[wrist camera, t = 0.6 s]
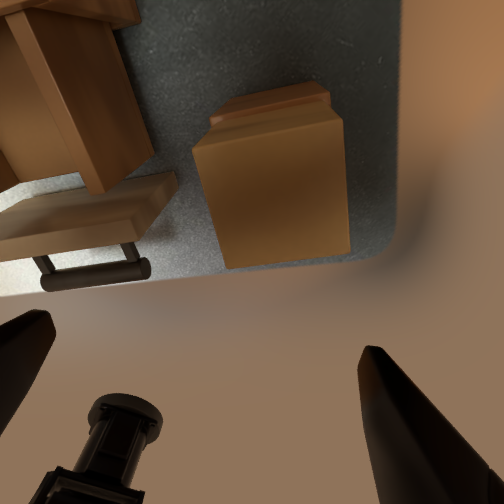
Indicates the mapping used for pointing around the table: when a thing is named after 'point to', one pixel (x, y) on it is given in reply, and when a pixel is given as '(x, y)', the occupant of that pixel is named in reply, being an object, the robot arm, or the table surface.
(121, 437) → the robot arm
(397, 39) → the table surface
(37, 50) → the drawer
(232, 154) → the block
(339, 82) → the table surface
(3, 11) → the cabinet
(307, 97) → the brown wooden block
